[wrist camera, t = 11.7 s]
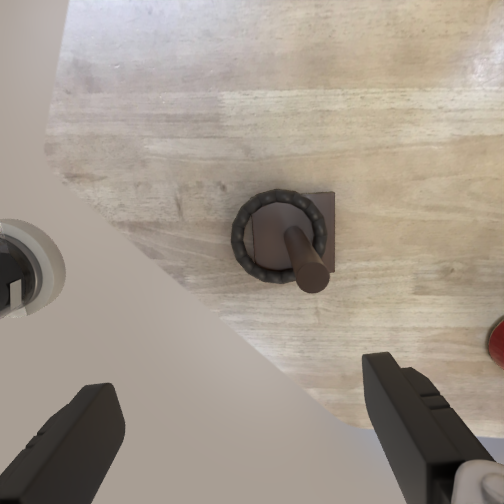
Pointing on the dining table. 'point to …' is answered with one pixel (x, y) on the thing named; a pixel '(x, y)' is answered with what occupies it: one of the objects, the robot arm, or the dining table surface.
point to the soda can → (497, 344)
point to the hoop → (267, 199)
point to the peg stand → (295, 241)
